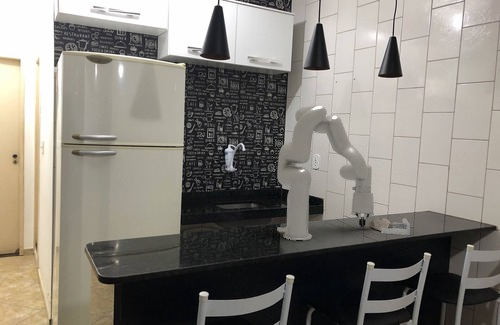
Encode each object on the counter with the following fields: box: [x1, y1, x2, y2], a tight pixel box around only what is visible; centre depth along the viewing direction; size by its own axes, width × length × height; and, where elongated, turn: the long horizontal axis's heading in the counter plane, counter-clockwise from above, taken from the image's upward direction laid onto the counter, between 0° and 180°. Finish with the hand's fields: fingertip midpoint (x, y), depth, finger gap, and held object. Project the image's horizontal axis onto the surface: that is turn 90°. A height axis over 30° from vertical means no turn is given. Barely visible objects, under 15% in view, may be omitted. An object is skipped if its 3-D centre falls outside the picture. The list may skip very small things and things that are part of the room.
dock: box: [380, 217, 411, 236], centre depth 194 cm, size 12×15×5 cm
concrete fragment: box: [367, 216, 393, 232], centre depth 197 cm, size 7×14×6 cm, turn 12°
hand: (362, 226), depth 197 cm, fingers closed
